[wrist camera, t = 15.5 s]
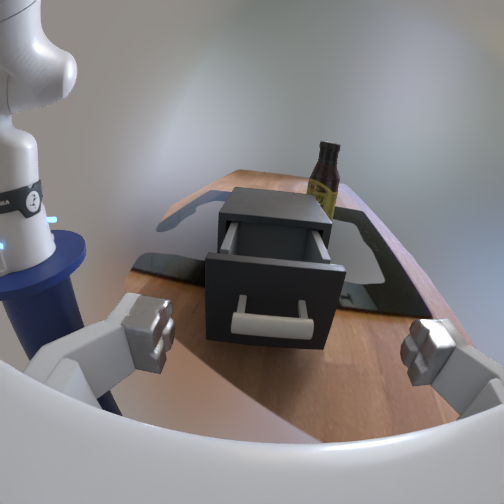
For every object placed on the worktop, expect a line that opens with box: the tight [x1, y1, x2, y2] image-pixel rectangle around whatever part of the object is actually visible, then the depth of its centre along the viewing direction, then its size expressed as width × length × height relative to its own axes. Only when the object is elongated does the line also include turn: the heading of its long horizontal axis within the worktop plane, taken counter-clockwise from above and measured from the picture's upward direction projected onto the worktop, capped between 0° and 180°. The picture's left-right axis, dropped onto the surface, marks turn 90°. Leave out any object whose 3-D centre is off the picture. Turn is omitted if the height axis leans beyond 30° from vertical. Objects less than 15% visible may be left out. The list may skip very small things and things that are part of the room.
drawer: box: [205, 221, 346, 350], centre depth 28 cm, size 18×12×9 cm, turn 177°
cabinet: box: [217, 187, 332, 253], centre depth 39 cm, size 15×13×11 cm
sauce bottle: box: [307, 141, 340, 223], centre depth 53 cm, size 7×6×20 cm
